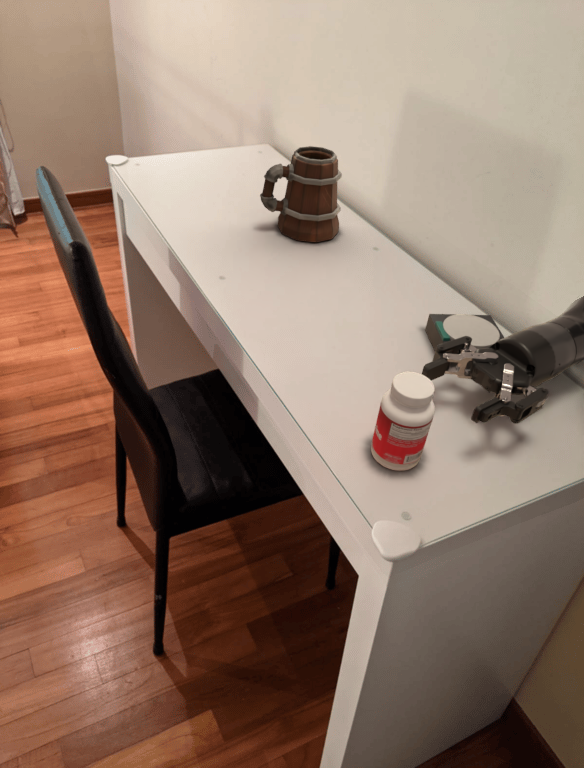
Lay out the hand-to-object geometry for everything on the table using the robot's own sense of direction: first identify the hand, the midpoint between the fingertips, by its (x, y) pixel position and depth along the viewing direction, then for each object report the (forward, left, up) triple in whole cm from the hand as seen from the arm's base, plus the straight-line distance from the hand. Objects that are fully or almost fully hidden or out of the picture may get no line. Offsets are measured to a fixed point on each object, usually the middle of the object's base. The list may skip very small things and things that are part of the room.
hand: (448, 395), depth 74 cm
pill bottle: (+6, +4, -7) cm, 10 cm away
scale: (-10, -18, -7) cm, 22 cm away
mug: (+12, -57, -7) cm, 59 cm away
